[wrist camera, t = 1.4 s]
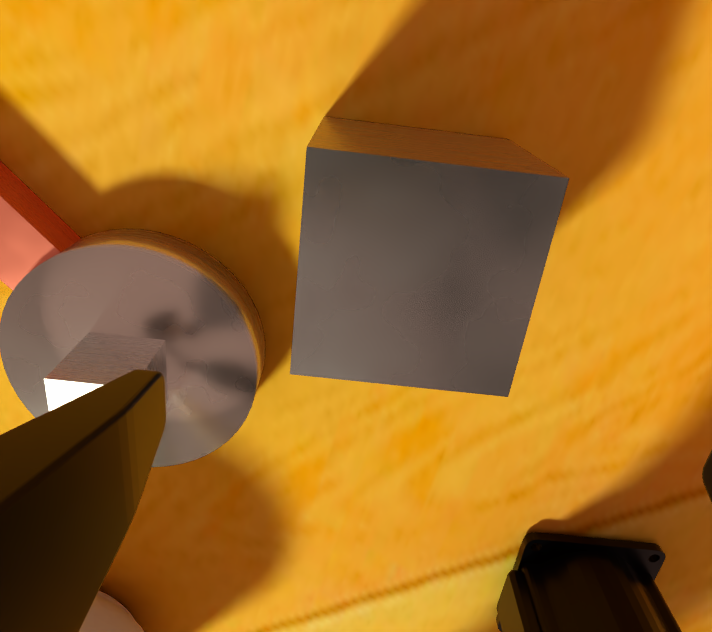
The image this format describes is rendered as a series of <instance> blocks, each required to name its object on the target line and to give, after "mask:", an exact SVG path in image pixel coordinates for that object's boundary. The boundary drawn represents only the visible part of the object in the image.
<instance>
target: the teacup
mask: <svg viewBox="0 0 712 632" xmlns="http://www.w3.org/2000/svg"><path fill="white" fill-rule="evenodd" d="M79 632H145V631H144V630H143V629H142V627H141V626H140V625H139V624H138V623H137V622H136V621H135V619H134V618H133V616H132V615H131V613H130V612H129V611H128V610H127V609H126V608H125V607H124V606H123V605H122V604H121V603H119V602H118V601H117V600H115V599H114V598H113V597H111V596H109V595H107V594H105V593H103V592H101V591H98V593H97V595H96V597H95V599H94V601H93V604H92V606H91V608H90V610H89V612H88V614H87V616H86V618H85V620H84V622H83V624H82V626H81V628H80V631H79Z"/></svg>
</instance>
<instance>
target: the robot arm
mask: <svg viewBox="0 0 712 632" xmlns="http://www.w3.org/2000/svg"><path fill="white" fill-rule="evenodd" d="M165 423H166V401H165V381H164V377H163V374H162V373H161V372H159V371H150V370H141V369H136V370H133V371H131V372H129V373H127V374H125V375H123V376H121V377H118V378H116V379H114V380H112V381H110V382H108V383H106V384H104V385H102V386H100V387H98V388H96V389H94V390H92V391H90V392H88V393H86V394H84V395H82V396H80V397H77V398H75V399H73V400H71V401H69V402H67V403H65V404H63V405H61V406H59V407H57V408H55V409H53V410H51V411H49V412H47V413H45V414H43V415H41V416H39V417H36V418H34V419H32V420H30V421H28V422H26V423H24V424H22V425H20V426H18V427H16V428H14V429H12V430H10V431H8V432H6V433H4V434H2V435H0V632H79V631H80V628H81V626H82V624H83V622H84V620H85V618H86V616H87V614H88V612H89V610H90V608H91V606H92V604H93V601H94V599H95V597H96V595H97V593H98V591H99V589H100V587H101V585H102V583H103V581H104V579H105V576H106V574H107V572H108V570H109V568H110V566H111V564H112V562H113V560H114V558H115V556H116V554H117V552H118V549H119V547H120V545H121V543H122V541H123V539H124V537H125V535H126V533H127V531H128V529H129V526H130V524H131V522H132V520H133V517H134V515H135V513H136V510H137V507H138V504H139V502H140V499H141V496H142V493H143V490H144V487H145V484H146V481H147V478H148V475H149V473H150V470H151V467H152V464H153V461H154V458H155V455H156V452H157V449H158V446H159V443H160V440H161V437H162V435H163V432H164V428H165ZM702 478H703V483H704V485H705V488H706V490H707V493H708V495H709V497H710V500H711V502H712V451H711V453H710V455H709V457H708V459H707V461H706V463H705V465H704V467H703V472H702ZM535 543H536V544H535ZM664 560H665V554H664V552H663V550H662V549H661V547H660V546H659V545H657V544H653V543H643V542H632V541H622V540H611V539H601V538H590V537H579V536H569V535H558V534H548V533H537V532H535V533H530V534H527V535H526V536H525V537H524V539H523V541H522V544H521V547H520V550H519V553H518V556H517V559H516V562H515V565H514V568H513V570H511V571H510V572H509V573H508V575H507V578H506V581H505V584H504V587H503V590H502V593H501V596H500V599H499V602H498V605H497V611H498V615H497V618H496V622H497V626H498V629H499V630H500V631H501V632H682V631H681V629H680V627H679V626H678V624H677V622H676V620H675V618H674V616H673V615H672V613H671V611H670V609H669V607H668V605H667V604H666V602H665V600H664V598H663V596H662V594H661V593H660V591H659V589H658V587H657V585H656V583H655V582H654V580H655V578H656V576H657V574H658V572H659V570H660V568H661V566H662V564H663V562H664Z"/></svg>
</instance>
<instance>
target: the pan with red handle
mask: <svg viewBox="0 0 712 632" xmlns="http://www.w3.org/2000/svg"><path fill="white" fill-rule="evenodd" d="M0 280H1V281H2V282H4V283H5V284H6V285H7V286H8V287H9V288H10V289H12V290H13V292H12V293H11V295H10V297H9V298H8V300H7V303H6V305H5V308H4V310H3V313H2V318H1V323H0V352H1V357H2V361H3V365H4V369H5V371H6V374H7V376H8V378H9V381H10V383H11V385H12V387H13V388H14V390H15V392H16V394H17V395H18V397H19V398H20V400H21V401H22V402H23V404H24V405H25V406H26V408H27V409H28V410H29V411H30V412H31V413H32V414H33V416H34V417H35V418H36V417H39V416H41V415H43V414H45V413H47V412H49V411H51V410H53V409H55V408H57V407H59V406H61V405H63V404H65V403H67V402H69V401H71V400H73V399H75V398H77V397H80V396H82V395H84V394H86V393H88V392H90V391H92V390H94V389H96V388H98V387H100V386H102V385H104V384H106V383H108V382H110V381H112V380H114V379H116V378H118V377H121V376H123V375H125V374H127V373H129V372H131V371H133V370H136V369H141V370H150V371H159V372H161V373H162V374H163V377H164V381H165V401H166V423H165V428H164V432H163V435H162V437H161V440H160V443H159V446H158V449H157V452H156V455H155V458H154V461H153V464H152V467H162V466H171V465H177V464H182V463H186V462H189V461H193V460H196V459H198V458H201V457H203V456H205V455H208V454H209V453H211V452H213V451H214V450H216V449H218V448H219V447H221V446H222V445H223V444H224V443H226V442H227V441H228V440H229V439H230V438H231V437H232V436H233V435H234V434H235V433H236V432H237V431H238V430H239V428H240V427H241V425H242V424H243V422H244V421H245V419H246V417H247V415H248V413H249V411H250V409H251V406H252V403H253V400H254V397H255V394H256V390H257V387H258V384H259V381H260V378H261V374H262V371H263V367H264V361H265V337H264V331H263V326H262V323H261V320H260V317H259V314H258V311H257V309H256V307H255V305H254V303H253V301H252V299H251V298H250V296H249V294H248V293H247V291H246V290H245V288H244V287H243V286H242V284H241V283H240V282H239V281H238V280H237V278H236V277H235V276H234V275H233V274H232V273H231V272H230V271H229V270H228V269H227V268H226V267H225V266H224V265H223V264H221V263H220V262H219V261H218V260H216V259H215V258H214V257H212V256H211V255H209V254H208V253H207V252H205V251H203V250H201V249H200V248H198V247H196V246H194V245H193V244H190V243H188V242H186V241H183V240H181V239H179V238H176V237H173V236H170V235H166V234H163V233H159V232H154V231H148V230H140V229H118V230H108V231H104V232H99V233H95V234H92V235H89V236H86V237H84V238H80V237H79V236H78V235H77V234H76V233H75V232H74V231H73V230H72V229H71V228H70V227H69V226H68V225H67V224H66V223H65V222H64V221H63V220H62V219H61V218H59V217H58V216H57V215H56V214H55V213H54V212H53V211H52V210H51V209H50V208H49V207H48V206H47V205H46V204H45V203H44V202H43V201H42V200H41V199H40V198H39V197H38V196H37V195H35V194H34V193H33V192H32V191H31V190H30V189H29V188H28V187H27V186H26V185H25V184H24V183H23V182H22V181H21V180H20V179H19V178H18V177H17V176H16V175H15V174H14V173H13V172H12V171H10V170H9V169H8V168H7V167H6V166H5V165H4V164H3V163H2V162H1V161H0Z"/></svg>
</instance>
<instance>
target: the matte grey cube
mask: <svg viewBox="0 0 712 632" xmlns="http://www.w3.org/2000/svg"><path fill="white" fill-rule="evenodd" d="M568 181H569V178H568V177H567V176H565V175H564V174H562V173H560V172H559V171H557V170H556V169H554V168H553V167H551V166H549V165H548V164H546V163H545V162H543V161H542V160H540V159H538V158H537V157H535V156H534V155H532V154H531V153H529V152H527V151H526V150H524V149H523V148H521V147H520V146H518V145H516V144H515V143H513V142H512V141H510V140H509V139H503V138H495V137H487V136H479V135H471V134H463V133H454V132H446V131H438V130H430V129H422V128H414V127H405V126H397V125H389V124H381V123H373V122H365V121H356V120H348V119H340V118H332V117H324V118H323V119H322V121H321V123H320V125H319V126H318V128H317V130H316V132H315V133H314V135H313V137H312V139H311V140H310V142H309V144H308V146H307V152H306V165H305V179H304V192H303V206H302V219H301V233H300V246H299V260H298V274H297V287H296V301H295V314H294V328H293V341H292V355H291V368H290V374H294V375H304V376H313V377H323V378H332V379H342V380H352V381H361V382H371V383H380V384H390V385H399V386H409V387H419V388H428V389H438V390H447V391H457V392H466V393H476V394H486V395H495V396H505V397H508V395H509V391H510V388H511V384H512V381H513V377H514V374H515V370H516V366H517V363H518V359H519V356H520V352H521V349H522V345H523V342H524V338H525V334H526V331H527V327H528V324H529V320H530V317H531V313H532V309H533V306H534V302H535V299H536V295H537V292H538V288H539V284H540V281H541V277H542V274H543V270H544V267H545V263H546V259H547V256H548V252H549V249H550V245H551V242H552V238H553V234H554V231H555V227H556V224H557V220H558V217H559V213H560V210H561V206H562V202H563V199H564V195H565V192H566V188H567V185H568Z"/></svg>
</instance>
